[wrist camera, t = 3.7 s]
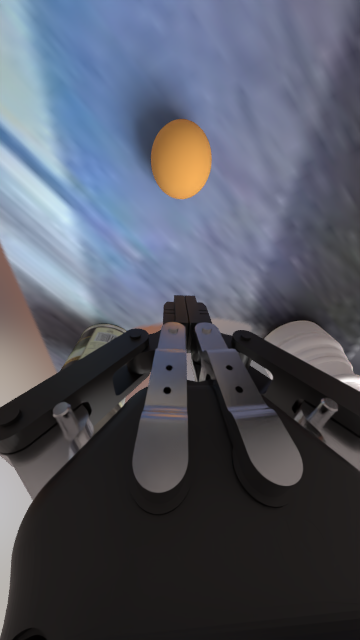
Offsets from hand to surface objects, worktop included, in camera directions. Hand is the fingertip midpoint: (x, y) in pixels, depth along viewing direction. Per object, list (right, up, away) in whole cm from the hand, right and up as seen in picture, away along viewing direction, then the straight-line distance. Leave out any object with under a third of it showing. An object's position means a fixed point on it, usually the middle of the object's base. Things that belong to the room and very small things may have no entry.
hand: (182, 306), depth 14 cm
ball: (0, +15, +5) cm, 16 cm away
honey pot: (+22, -6, +24) cm, 33 cm away
